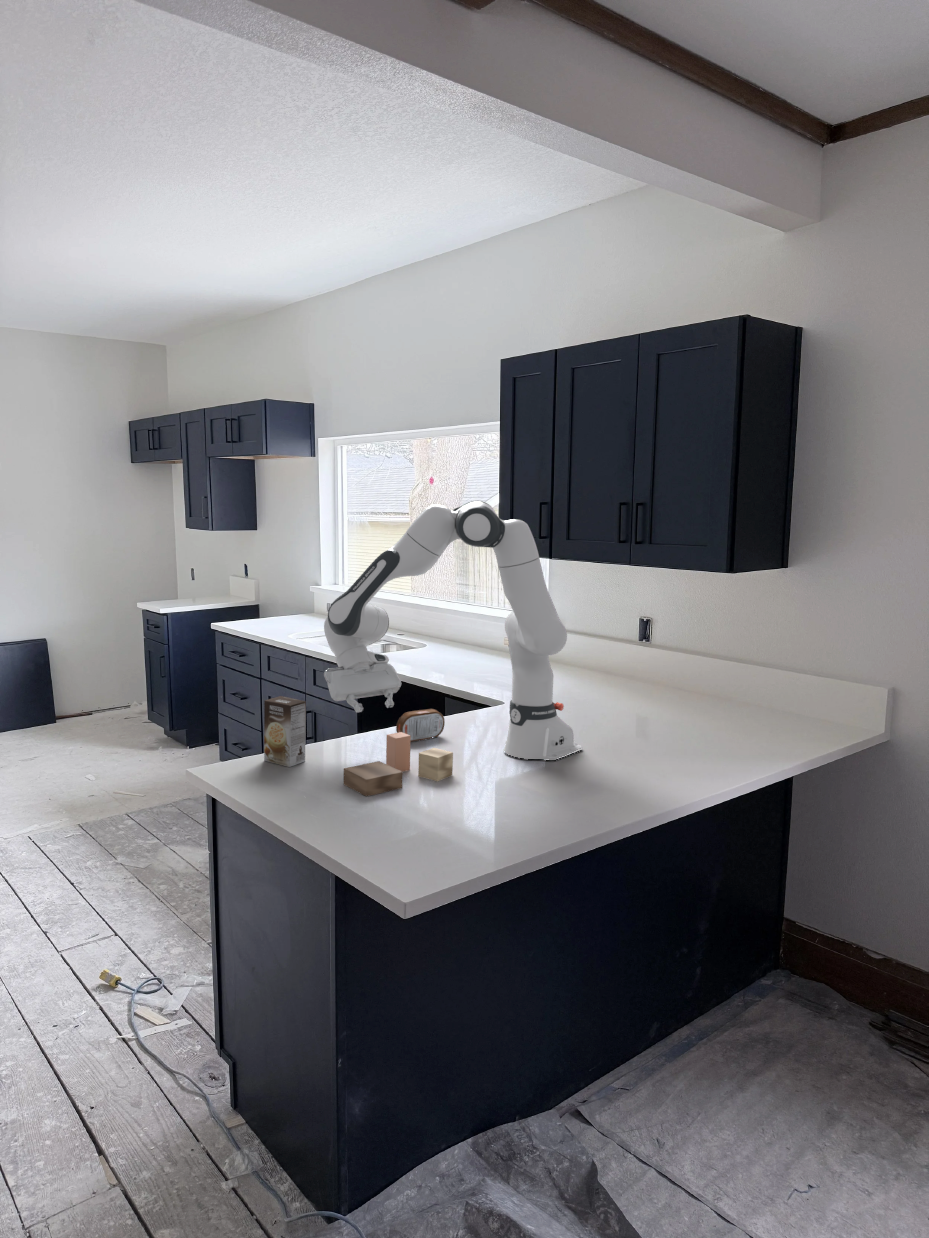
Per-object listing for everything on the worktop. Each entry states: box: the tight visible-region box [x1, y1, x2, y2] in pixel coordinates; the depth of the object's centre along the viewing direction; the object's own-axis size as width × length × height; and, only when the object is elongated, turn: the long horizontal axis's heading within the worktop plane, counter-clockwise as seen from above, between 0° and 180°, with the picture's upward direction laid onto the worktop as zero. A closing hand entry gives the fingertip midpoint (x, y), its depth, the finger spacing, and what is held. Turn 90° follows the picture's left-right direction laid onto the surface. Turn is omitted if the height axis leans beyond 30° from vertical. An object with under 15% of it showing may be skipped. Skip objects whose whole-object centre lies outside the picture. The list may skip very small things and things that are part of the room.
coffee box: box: [263, 695, 307, 768], centre depth 217 cm, size 9×6×16 cm
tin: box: [395, 708, 446, 743], centre depth 241 cm, size 15×3×8 cm, turn 125°
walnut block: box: [343, 760, 404, 797], centre depth 200 cm, size 10×10×4 cm
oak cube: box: [417, 747, 454, 782], centre depth 209 cm, size 6×6×6 cm
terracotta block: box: [385, 732, 411, 773], centre depth 213 cm, size 4×4×9 cm
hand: (375, 708), depth 220 cm, fingers open, 8 cm apart
